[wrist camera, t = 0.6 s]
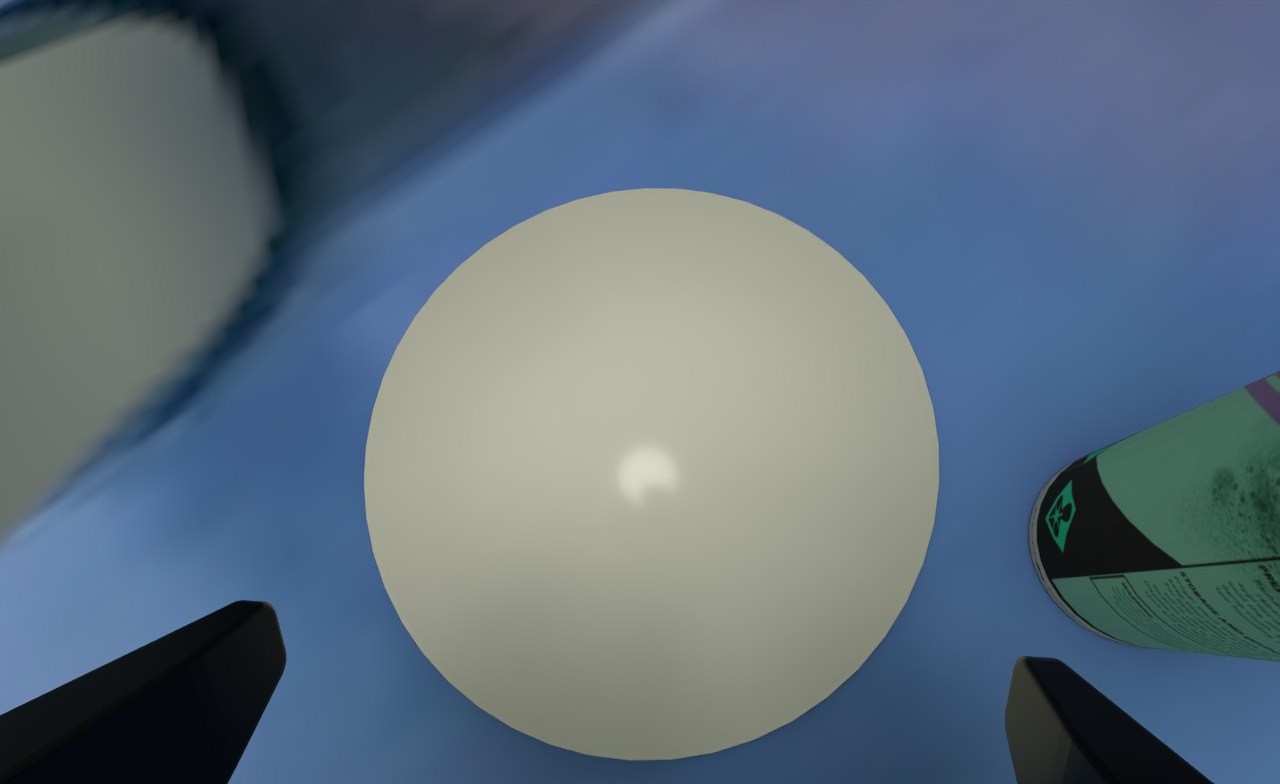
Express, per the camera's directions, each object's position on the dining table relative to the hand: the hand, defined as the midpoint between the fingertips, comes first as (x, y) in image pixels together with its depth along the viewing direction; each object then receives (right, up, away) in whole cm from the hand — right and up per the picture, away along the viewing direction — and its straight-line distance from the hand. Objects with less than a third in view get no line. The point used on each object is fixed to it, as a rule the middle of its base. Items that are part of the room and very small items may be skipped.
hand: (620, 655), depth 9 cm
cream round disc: (0, +1, +15) cm, 15 cm away
